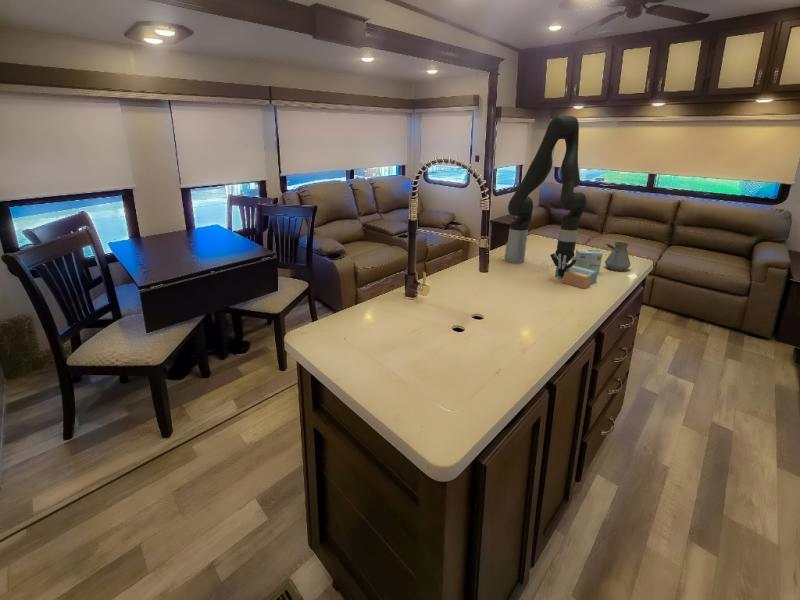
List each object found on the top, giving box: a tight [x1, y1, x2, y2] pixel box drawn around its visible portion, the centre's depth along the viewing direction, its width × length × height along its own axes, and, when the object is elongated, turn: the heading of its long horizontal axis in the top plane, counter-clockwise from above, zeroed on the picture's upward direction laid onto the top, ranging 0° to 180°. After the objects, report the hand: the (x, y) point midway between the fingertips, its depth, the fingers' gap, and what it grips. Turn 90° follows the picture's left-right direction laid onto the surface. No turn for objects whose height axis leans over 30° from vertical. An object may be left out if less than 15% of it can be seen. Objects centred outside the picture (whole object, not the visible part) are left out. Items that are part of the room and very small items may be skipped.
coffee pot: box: [603, 241, 631, 272], centre depth 201 cm, size 21×12×15 cm, turn 127°
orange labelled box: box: [562, 270, 591, 290], centre depth 183 cm, size 10×5×5 cm, turn 41°
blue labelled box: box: [554, 263, 599, 285], centre depth 190 cm, size 16×8×5 cm, turn 41°
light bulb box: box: [574, 248, 603, 275], centre depth 199 cm, size 11×7×11 cm, turn 84°
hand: (561, 276), depth 188 cm, fingers closed
